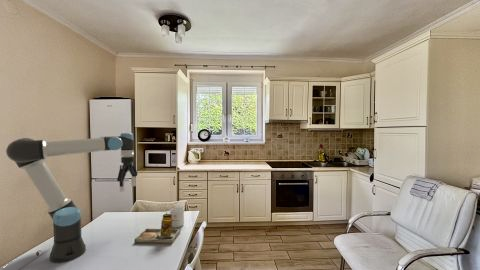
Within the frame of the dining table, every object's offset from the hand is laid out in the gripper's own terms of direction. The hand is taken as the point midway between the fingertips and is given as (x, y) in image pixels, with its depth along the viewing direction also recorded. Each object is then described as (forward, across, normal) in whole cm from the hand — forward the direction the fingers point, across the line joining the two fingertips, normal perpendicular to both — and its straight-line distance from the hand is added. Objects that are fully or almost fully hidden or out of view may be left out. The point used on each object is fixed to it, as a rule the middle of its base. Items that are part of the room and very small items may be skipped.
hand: (128, 188), depth 151 cm
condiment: (+24, -14, -30) cm, 41 cm away
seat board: (+27, -12, -25) cm, 38 cm away
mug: (+27, +6, -29) cm, 40 cm away
